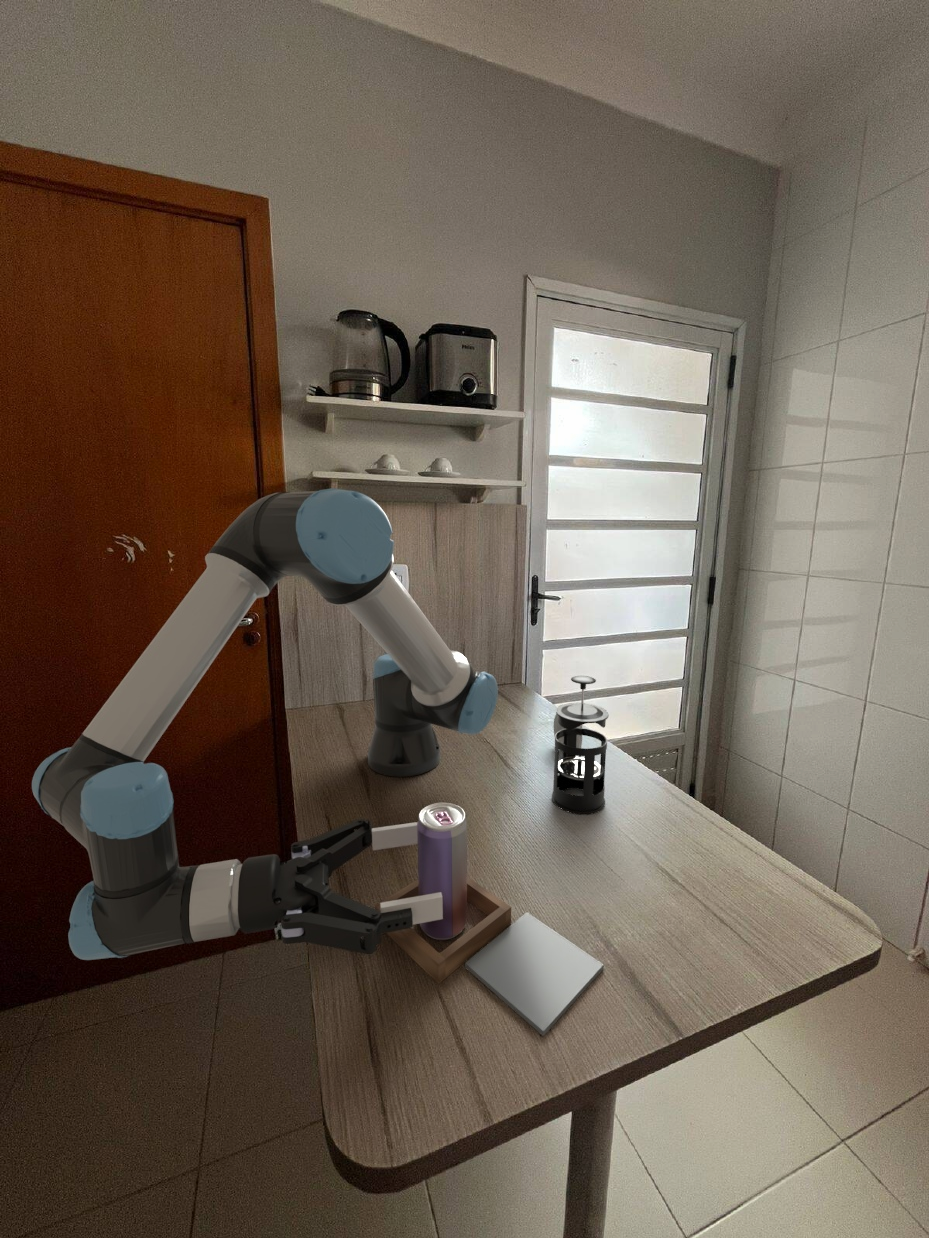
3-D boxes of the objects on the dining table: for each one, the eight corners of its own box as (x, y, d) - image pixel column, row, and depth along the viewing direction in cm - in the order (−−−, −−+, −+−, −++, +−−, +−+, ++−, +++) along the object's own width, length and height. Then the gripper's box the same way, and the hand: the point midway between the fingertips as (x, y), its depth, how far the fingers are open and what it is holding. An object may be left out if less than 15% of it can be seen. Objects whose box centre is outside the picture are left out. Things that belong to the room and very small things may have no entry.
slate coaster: (465, 967, 58) (465, 962, 58) (526, 915, 66) (526, 911, 66) (543, 1036, 50) (543, 1031, 50) (603, 969, 58) (603, 964, 58)
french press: (615, 814, 88) (623, 686, 84) (562, 819, 87) (567, 688, 82) (589, 780, 100) (595, 666, 95) (542, 784, 98) (546, 668, 94)
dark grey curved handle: (550, 744, 116) (551, 702, 114) (564, 743, 116) (566, 700, 115) (569, 764, 106) (570, 719, 104) (584, 763, 107) (586, 717, 105)
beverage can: (428, 949, 61) (426, 834, 58) (412, 914, 66) (410, 807, 63) (474, 933, 63) (475, 822, 60) (455, 900, 68) (455, 797, 65)
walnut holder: (375, 922, 65) (374, 905, 64) (446, 877, 73) (446, 861, 72) (438, 983, 56) (438, 964, 56) (511, 924, 64) (511, 906, 64)
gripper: (259, 855, 70) (415, 832, 75) (220, 1030, 46) (453, 979, 51) (255, 804, 68) (414, 785, 73) (212, 958, 44) (453, 913, 49)
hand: (431, 864), depth 62 cm, fingers open, 13 cm apart
